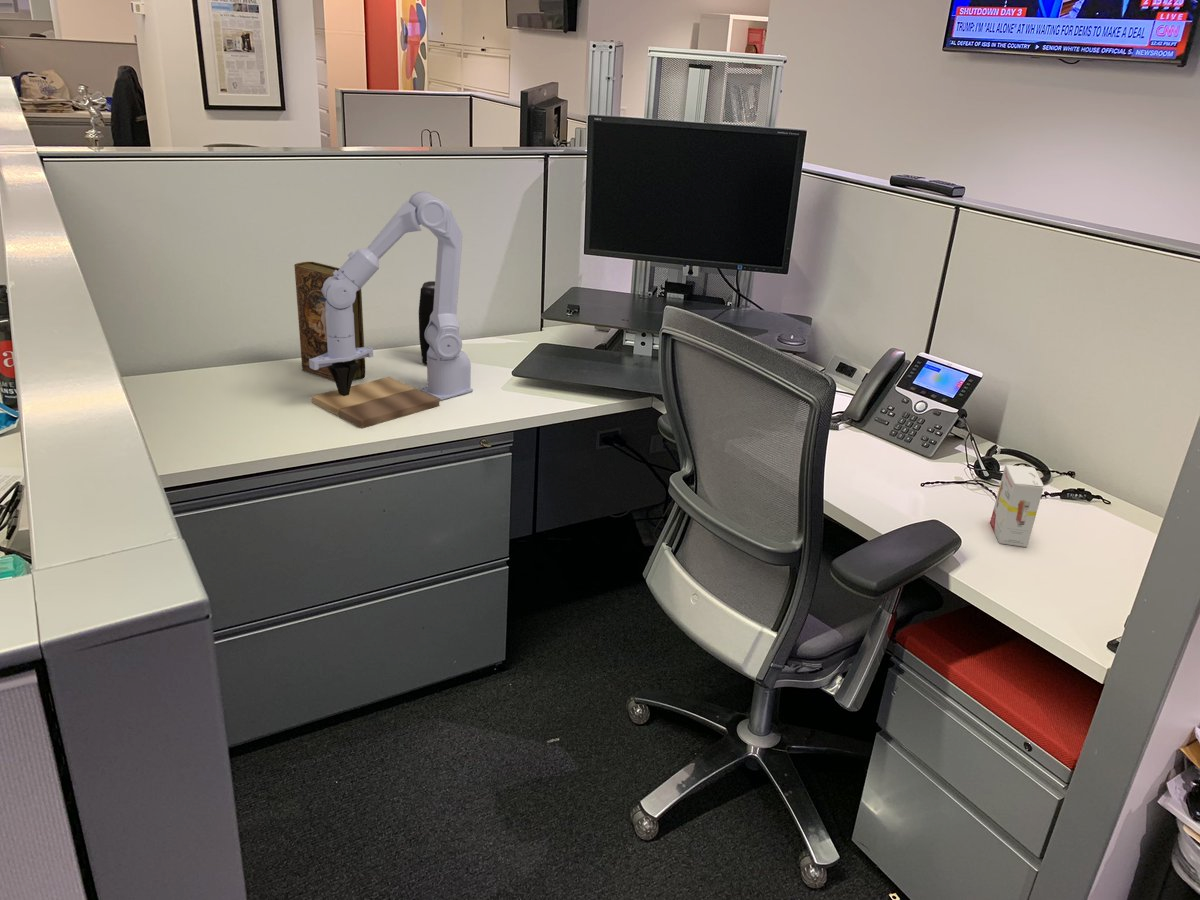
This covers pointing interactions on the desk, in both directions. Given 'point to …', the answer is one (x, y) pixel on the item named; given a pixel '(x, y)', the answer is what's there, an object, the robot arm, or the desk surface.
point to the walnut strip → (388, 408)
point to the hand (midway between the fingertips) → (343, 394)
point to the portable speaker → (425, 314)
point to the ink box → (1016, 505)
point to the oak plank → (360, 394)
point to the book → (321, 316)
